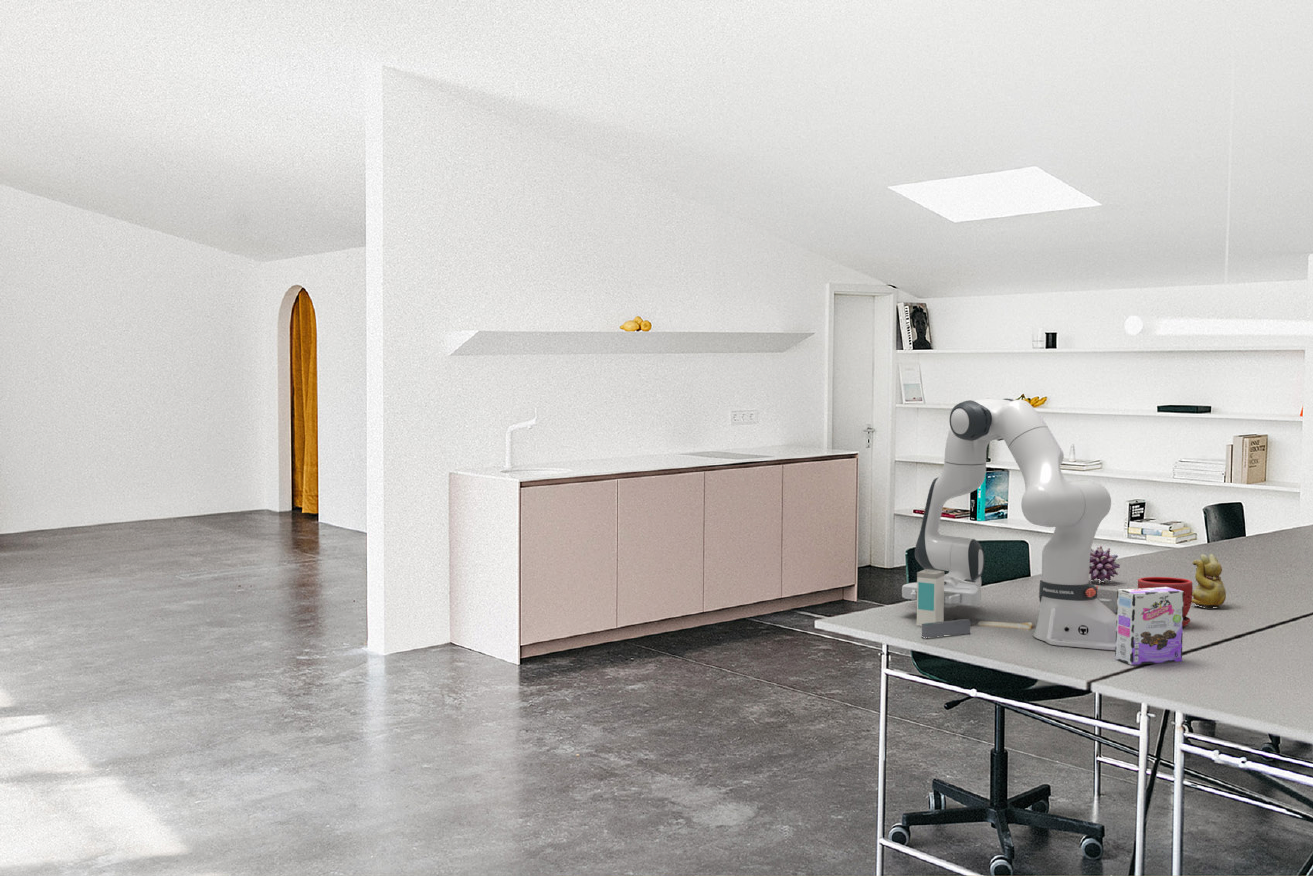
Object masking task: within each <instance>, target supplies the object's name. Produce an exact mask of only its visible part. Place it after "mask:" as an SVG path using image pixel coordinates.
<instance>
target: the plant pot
mask: <svg viewBox="0 0 1313 876" xmlns="http://www.w3.org/2000/svg"><path fill="white" fill-rule="evenodd" d="M1193 586H1194V585H1193V581H1192V580H1190V579H1187V578H1180V577H1170V576H1169V577H1168V576H1149V577H1148V576H1147V577H1141V578H1138V579H1137V589H1139V588H1157V587H1169V588H1173V589H1177V590H1181V591H1184V595H1183V627H1185V626H1187V625H1189V624H1190V622H1191V619H1190V617H1188V616H1187V615H1188V614H1189V611H1190V609H1191V607H1192V606H1191V605H1192V598H1193V596H1192V591H1193V590H1194V589H1193Z"/></svg>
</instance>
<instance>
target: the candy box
mask: <svg viewBox="0 0 1313 876" xmlns="http://www.w3.org/2000/svg"><path fill="white" fill-rule="evenodd" d="M1116 590H1117V591H1116V594H1117V595H1116V615H1117V617H1116V647H1115V650H1114V652H1115V653H1114V659H1115V660H1117V661H1119V662H1123V663H1125V664H1128V665H1130V666H1135V665H1136V666H1138V665H1149V664H1164V663H1178V662H1179V663H1180V662H1183V635H1184V634H1183V633H1184V632H1183V631H1184V629H1183V628H1184V626H1183V595H1184V591H1181V590H1177V589H1173V588H1169V587H1157V588H1139V589H1138V588H1117V589H1116Z"/></svg>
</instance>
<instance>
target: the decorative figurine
mask: <svg viewBox="0 0 1313 876" xmlns="http://www.w3.org/2000/svg"><path fill="white" fill-rule="evenodd" d="M1208 556H1209V557H1208ZM1192 565H1193V566H1196V572H1195V577H1194V578H1195V581H1196V582H1197V583H1198V584H1197V585H1196V587H1195V588H1194V589H1193V590H1192V602H1191V604H1192V603H1193V604H1194V605H1195V604H1196V605H1199V606H1202V607H1205V608H1213V607H1219V608H1220V606H1222V605H1224V603H1225V601H1226V598H1227V591H1226V588H1225V586H1224V581H1222V578H1221V576H1220V575H1221V574H1222V572H1223V568H1222V565H1221V563H1220V562H1219V560H1218V558H1217V556H1216V555H1215V554H1213V553H1210V554H1209V555H1206V554H1203V553H1202V554H1200V559H1194V560H1193V561H1192Z"/></svg>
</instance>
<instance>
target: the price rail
mask: <svg viewBox="0 0 1313 876" xmlns="http://www.w3.org/2000/svg"><path fill="white" fill-rule="evenodd" d="M969 633H970V634H971V619H970V618H969V619H968V618H963V619H955V620H954V619H952V620H945V621H943V622H934V623H925V624H922V627H921V637H922V636H923V637H925V638H926V637H927V638H928V637H937V636H944V635H956V636H962V635H961V634H964V635H970V634H969Z"/></svg>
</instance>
